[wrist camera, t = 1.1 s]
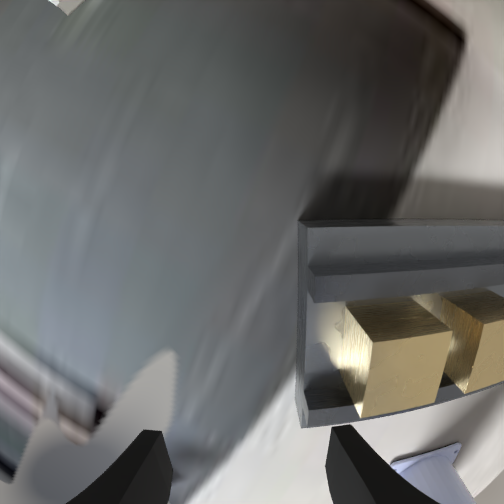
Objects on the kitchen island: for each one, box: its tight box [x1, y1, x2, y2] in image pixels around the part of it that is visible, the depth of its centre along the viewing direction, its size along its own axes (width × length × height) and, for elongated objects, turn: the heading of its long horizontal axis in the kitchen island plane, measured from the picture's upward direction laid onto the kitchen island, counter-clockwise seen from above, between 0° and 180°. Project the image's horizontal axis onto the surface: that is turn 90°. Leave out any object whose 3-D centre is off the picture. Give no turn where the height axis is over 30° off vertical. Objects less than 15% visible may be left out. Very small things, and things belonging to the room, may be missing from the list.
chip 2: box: [440, 291, 504, 394], centre depth 14 cm, size 4×4×4 cm
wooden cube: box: [340, 300, 453, 418], centre depth 14 cm, size 4×4×4 cm
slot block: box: [295, 219, 504, 428], centre depth 17 cm, size 12×20×5 cm, turn 92°
